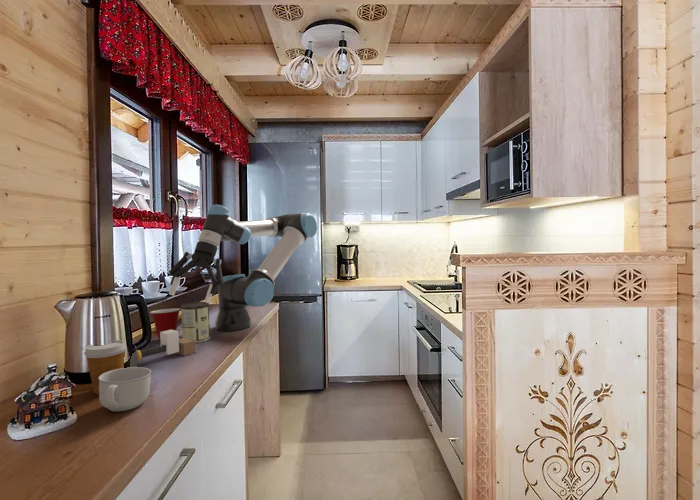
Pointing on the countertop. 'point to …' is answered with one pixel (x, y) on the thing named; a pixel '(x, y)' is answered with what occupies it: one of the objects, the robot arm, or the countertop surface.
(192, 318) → the coffee can
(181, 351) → the cord rail
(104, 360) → the disposable coffee cup
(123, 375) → the teacup
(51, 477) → the countertop surface
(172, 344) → the white upright block
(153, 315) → the plastic cup
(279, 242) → the robot arm
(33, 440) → the countertop surface
